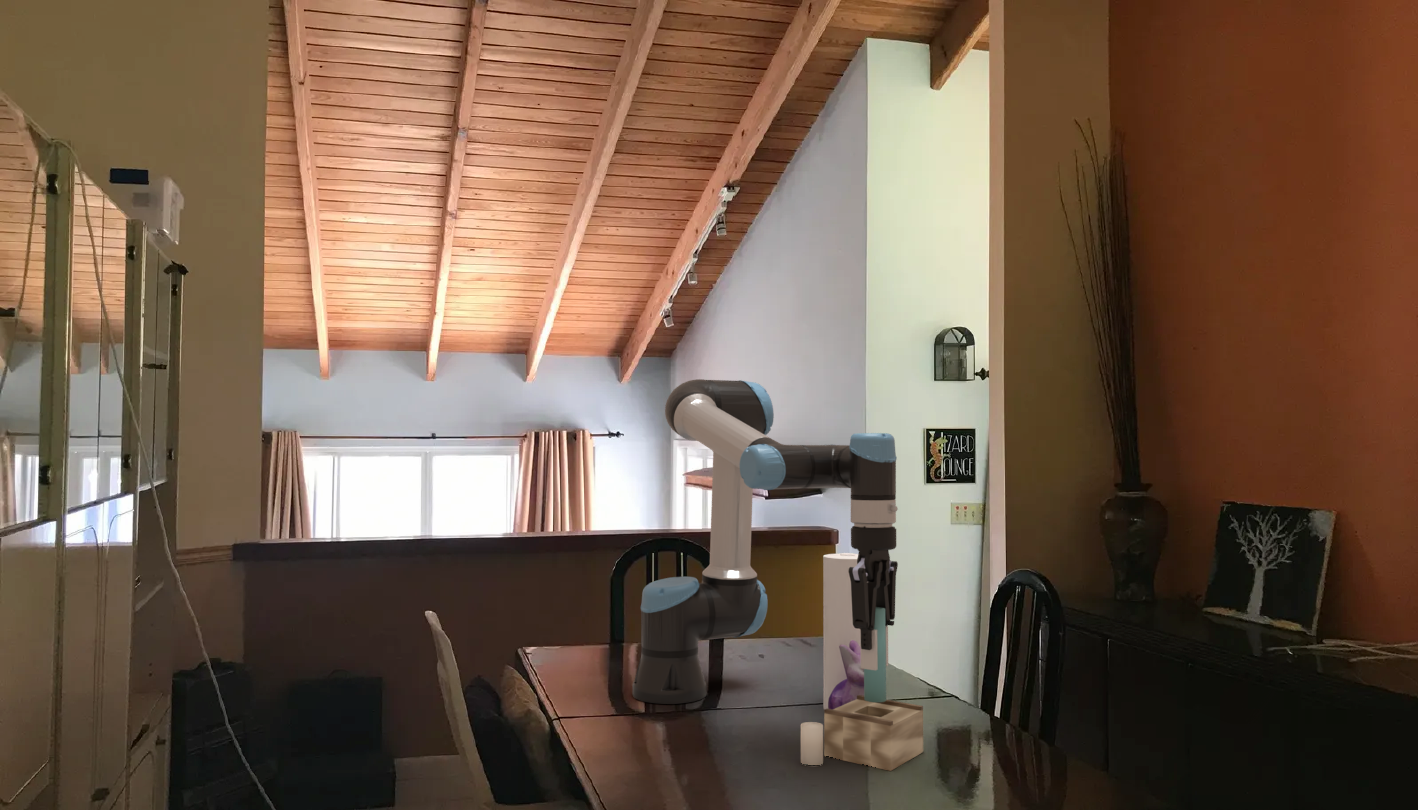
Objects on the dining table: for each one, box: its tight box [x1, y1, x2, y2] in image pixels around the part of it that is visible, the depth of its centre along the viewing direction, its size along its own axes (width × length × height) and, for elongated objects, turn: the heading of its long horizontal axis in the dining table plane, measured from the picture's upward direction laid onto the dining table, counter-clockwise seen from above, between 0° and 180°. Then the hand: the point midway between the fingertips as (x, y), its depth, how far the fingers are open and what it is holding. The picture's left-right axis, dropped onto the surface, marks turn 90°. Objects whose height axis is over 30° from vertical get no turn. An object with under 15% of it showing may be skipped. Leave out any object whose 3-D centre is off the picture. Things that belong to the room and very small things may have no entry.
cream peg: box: [800, 721, 824, 766], centre depth 159 cm, size 4×4×6 cm
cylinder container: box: [822, 552, 868, 710], centre depth 191 cm, size 9×9×30 cm
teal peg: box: [864, 607, 887, 702], centre depth 163 cm, size 4×4×15 cm
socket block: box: [823, 695, 924, 772], centre depth 163 cm, size 12×12×8 cm
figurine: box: [828, 640, 864, 710], centre depth 181 cm, size 9×10×15 cm
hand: (874, 666), depth 163 cm, fingers closed on teal peg, 3 cm apart
